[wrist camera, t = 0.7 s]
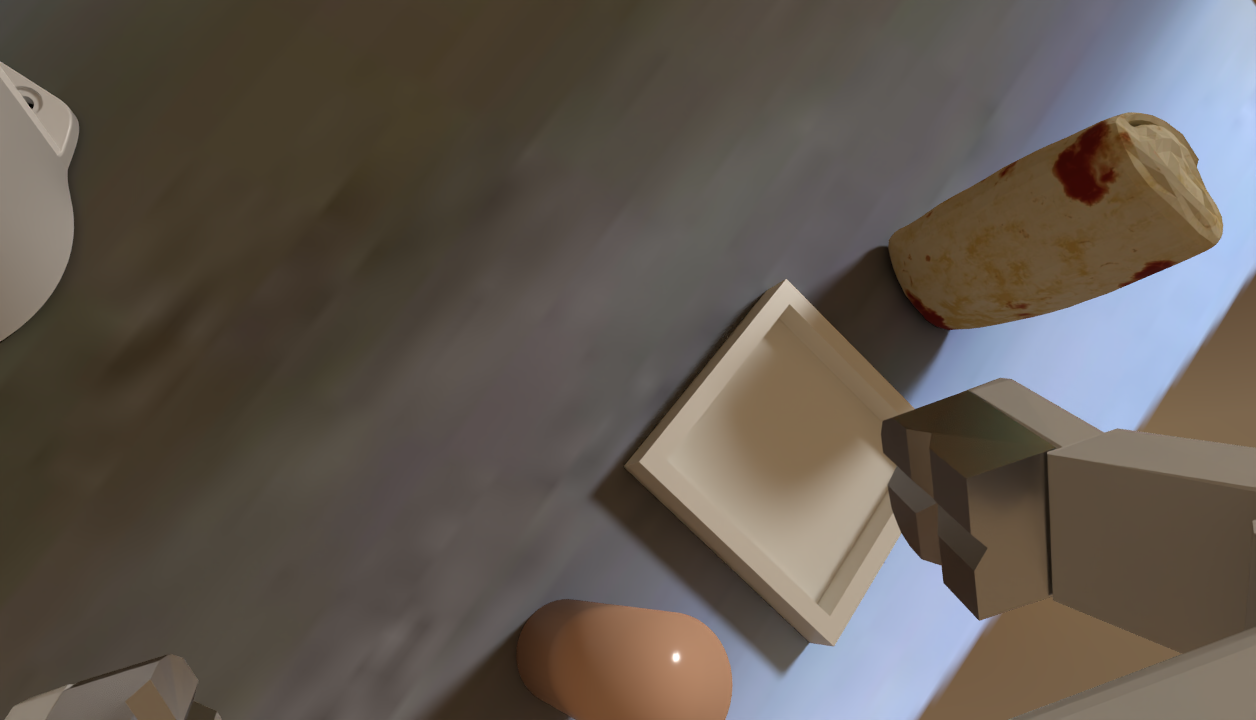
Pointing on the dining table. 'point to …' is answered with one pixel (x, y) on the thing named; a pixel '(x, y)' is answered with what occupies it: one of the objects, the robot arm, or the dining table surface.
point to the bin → (783, 463)
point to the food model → (1059, 226)
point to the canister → (624, 663)
